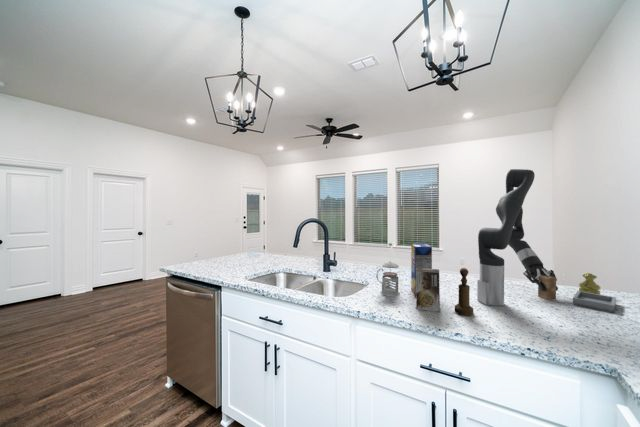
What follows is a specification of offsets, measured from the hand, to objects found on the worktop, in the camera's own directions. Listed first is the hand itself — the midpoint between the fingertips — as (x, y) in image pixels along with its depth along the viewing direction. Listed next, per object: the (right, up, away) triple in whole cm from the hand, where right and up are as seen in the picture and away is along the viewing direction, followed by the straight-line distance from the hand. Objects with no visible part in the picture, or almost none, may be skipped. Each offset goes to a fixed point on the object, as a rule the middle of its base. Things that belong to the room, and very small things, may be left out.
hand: (550, 290), depth 121 cm
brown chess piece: (-49, -5, -16) cm, 51 cm away
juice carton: (-56, -4, +9) cm, 57 cm away
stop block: (0, -4, +2) cm, 5 cm away
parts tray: (+13, -4, -7) cm, 15 cm away
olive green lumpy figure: (+26, -4, +8) cm, 27 cm away
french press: (-72, -4, +10) cm, 73 cm away
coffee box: (-61, -5, -10) cm, 62 cm away
